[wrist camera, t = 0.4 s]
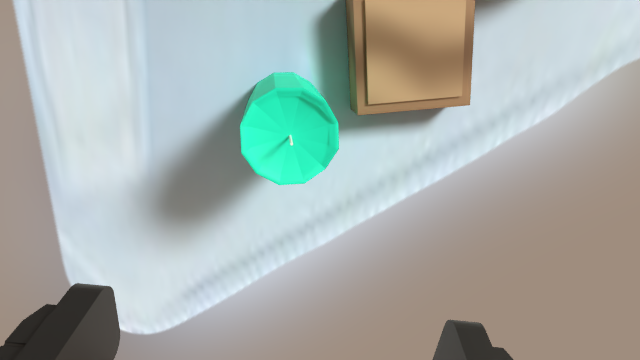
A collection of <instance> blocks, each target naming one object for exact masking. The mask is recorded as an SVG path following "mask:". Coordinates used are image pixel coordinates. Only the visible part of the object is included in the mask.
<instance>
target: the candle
mask: <svg viewBox="0 0 640 360" xmlns="http://www.w3.org/2000/svg"><path fill="white" fill-rule="evenodd" d="M240 137H241V153H242V155H243V156H244V157H245V159H246V160H247V161H248V163H249V164H250V166H251V167H252V168H253V170H254V171H255V173H256V174H258V175H260V176H262V177H264V178H266V179H268V180H270V181H272V182H274V183H276V184H278V185H287V184H304V183H306V182H307V181H309V180H310V179H312V178H313V177H314V176H316V175H317V174H319V173H320V172H322V171H323V170H325V169H326V167H327V166H328V164H329V163H330V161H331V160H332V158H333V157H334V155H335V154H336V152H337V151H338V149H339V130H338V121H337V119H336V117H335V116H334V114H333V112H332V110H331V109H330V107H329V105H328V103H327V102H326V100H325V99H324V98H323V97H322V95H321V94H320V93H319V92H318V91H317V90H316V88H315V87H314V86H313V85H312V84H311V83H310V82H309V81H307V80H306V79H304V78H302V77H300V76H299V75H297V74H295V73H293V72H285V73H272V74H271V75H269V76H268V77H266V78H264V79H263V80H261V81H260V82H258V83H257V85H256V87H255V89H254V90H253V92H252V94H251V96H250V98H249V100H248V103H247V106H246V109H245V112H244V115H243V118H242V121H241V124H240Z"/></svg>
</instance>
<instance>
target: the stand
mask: <svg viewBox="0 0 640 360" xmlns="http://www.w3.org/2000/svg"><path fill="white" fill-rule="evenodd" d="M474 13H475V0H346V15H347V37H348V59H349V81H350V103H351V110H353V111H354V112H355V113H356V114H357V115H366V114H377V113H388V112H399V111H410V110H421V109H432V108H443V107H454V106H465V105H470V94H471V74H472V54H473V34H474Z"/></svg>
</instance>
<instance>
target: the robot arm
mask: <svg viewBox="0 0 640 360" xmlns="http://www.w3.org/2000/svg"><path fill="white" fill-rule="evenodd" d="M119 340H120V328H119V322H118V316H117V309H116V303H115V297H114V292H113V289H112V288H111V287H110V286H100V285H90V284H79V283H77V284H74V285H73V286H72V287H71V288H70V289H69V291H67V293H66V294H65V295H64V296H63V298H62V299H61V300H60V302H59V303H58V304H57V305H49V304H46V305H45V306H43V307H42V308H40V309H39V310H38V311H36V312H34V313H33V314H32V315H30V316H29V317H27V318H26V319H24V320H23V321H22V322H21V323H20V324H19V326H18V327H17V328H16V329H15V330H14V331H13V333H12V334H11V335H10V336H9V337H8V338H7V340H6V341H5V344H4V346H1V347H0V360H113V359H114V358H115V355H116V353H117V349H118V346H119ZM433 360H513V359H512V358H511V357H510V355H509V354H508V353H507V352H506V351H505V350H504V349H503V348H498V347H492V345H491V342H490V340H489V338H488V335H487V333H486V331H485V329H484V327H483V325H482V324H481V323H477V322H466V321H455V320H448V321H447V322H446V323H445V326H444V329H443V331H442V334H441V337H440V340H439V343H438V346H437V349H436V352H435V355H434V357H433Z"/></svg>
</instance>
